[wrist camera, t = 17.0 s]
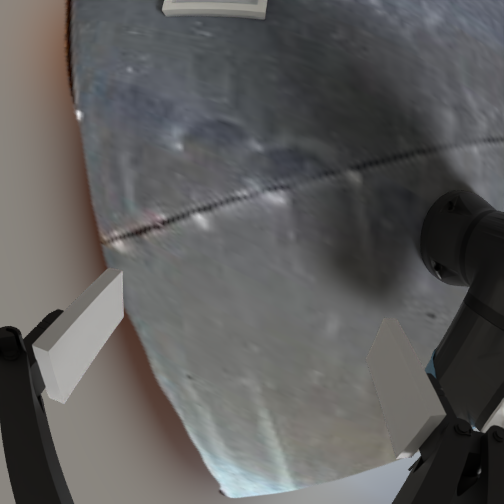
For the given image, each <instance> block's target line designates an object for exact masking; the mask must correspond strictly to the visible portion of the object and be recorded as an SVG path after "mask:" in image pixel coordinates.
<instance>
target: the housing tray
mask: <svg viewBox="0 0 504 504" xmlns="http://www.w3.org/2000/svg"><path fill="white" fill-rule="evenodd" d="M267 1H268V0H164V3H163V7H162V11H163V13H164V14H165V16H166V17H174V16H217V17H237V18H251V19H261V20H265V15H266V8H267Z"/></svg>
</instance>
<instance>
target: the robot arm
mask: <svg viewBox="0 0 504 504" xmlns="http://www.w3.org/2000/svg"><path fill="white" fill-rule="evenodd" d="M421 252H422V257H423V260H424V263H425V265H426V267H427V268H428V270H429V271H430V272H431V274H433V275H434V276H435V277H436V278H438V279H439V280H441V281H442V282H444V283H446V284H449V285H454V286H466V287H470V288H469V290H468V292H467V294H466V296H465V298H464V300H463V302H462V304H461V306H460V308H459V310H458V312H457V314H456V316H455V318H454V319H453V321H452V323H451V325H450V327H449V328H448V330H447V332H446V334H445V335H444V337H443V339H442V340H441V342H440V344H439V345H438V347H437V348H436V349H435V350H434V351H433V353H432V357H431V360H430V361H429V363H428V365H427V367H426V368H425V370H424V368H423V366H422V364H421V362H420V360H419V359H418V357H417V355H416V353H415V351H414V349H413V347H412V345H411V344H410V342H409V340H408V338H407V336H406V334H405V333H404V331H403V329H402V327H401V326H400V324H399V322H398V320H397V319H393V318H385V317H384V319H383V321H382V323H381V326H380V328H379V331H378V333H377V335H376V337H375V340H374V342H373V344H372V346H371V349H370V351H369V353H368V355H367V357H366V362H367V365H368V368H369V371H370V374H371V377H372V380H373V383H374V386H375V389H376V392H377V395H378V399H379V402H380V405H381V408H382V411H383V415H384V418H385V421H386V425H387V428H388V431H389V435H390V438H391V442H392V445H393V449H394V453H395V456H396V459H398V458H410V457H412V456H413V455H414V454H415V453H416V452H417V451H418V449H419V450H420V453H421V456H420V457H419V459H418V460H417V461H416V462H415V463H414V464H413V465H412V466H411V467H410V468H409V469H408V470H409V471H410V470H411V469H412V468H413V469H412V470H411V472H410V474H409V476H408V478H407V479H406V481H405V483H404V484H403V486H402V488H401V490H400V491H399V493H398V494H397V496H396V498H395V499H394V501H393V502H392V504H504V212H501V211H497V210H496V209H495V208H493V207H492V206H491V205H490V204H489V203H488V202H487V201H485V200H484V199H483V198H482V197H480V196H479V195H477V194H475V193H472V192H467V191H452V192H449V193H447V194H445V195H443V196H442V197H441V198H439V199H438V200H437V201H436V202H435V204H434V205H433V206H432V207H431V209H430V210H429V212H428V214H427V216H426V219H425V221H424V224H423V228H422V233H421ZM123 317H124V313H123V280H122V270H118V269H113V268H108V269H107V270H106V271H105V272H104V273H103V274H102V275H101V276H99V277H98V278H97V280H95V281H94V282H93V283H92V284H91V285H90V286H89V287H88V288H87V289H86V290H85V291H84V292H83V293H82V294H81V295H80V296H79V297H78V298H77V299H76V300H75V301H74V302H73V303H72V304H71V305H70V306H69V307H68V308H67V309H66V310H65V311H63V310H59V309H58V310H56V311H53V312H51V313H49V314H48V315H47V316H46V317H45V318H44V319H43V320H42V322H40V323H39V324H38V325H37V327H35V328H34V329H33V330H32V331H31V332H30V333H29V334H28V335H27V336H26V337H25V338H24V339H23V338H22V335H21V332H20V330H18V329H17V328H15V327H12V326H5V327H2V328H0V424H1V433H2V440H3V447H4V453H5V458H6V463H7V468H8V473H9V478H10V482H11V486H12V491H13V494H14V498H15V502H16V504H74V502H73V499H72V497H71V494H70V492H69V489H68V486H67V484H66V481H65V478H64V475H63V472H62V469H61V466H60V463H59V460H58V457H57V454H56V450H55V447H54V443H53V440H52V437H51V432H50V429H49V425H48V421H47V417H46V412H45V408H44V403H43V399H42V396H41V393H42V391H43V390H44V389H45V388H46V391H47V394H48V397H49V398H51V399H54V400H56V401H58V402H61V403H63V404H64V403H65V402H66V400H67V399H68V397H69V396H70V394H71V393H72V391H73V389H74V388H75V386H76V385H77V383H78V382H79V380H80V379H81V377H82V376H83V374H84V373H85V371H86V370H87V368H88V367H89V366H90V364H91V363H92V361H93V360H94V358H95V357H96V355H97V353H98V352H99V351H100V349H101V348H102V347H103V345H104V344H105V342H106V341H107V339H108V338H109V337H110V335H111V334H112V332H113V331H114V330H115V328H116V327H117V325H118V324H119V323H120V321H121V320H122V318H123ZM474 428H477V429H478V430H479V431H480V432H477V431H473V429H474Z"/></svg>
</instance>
